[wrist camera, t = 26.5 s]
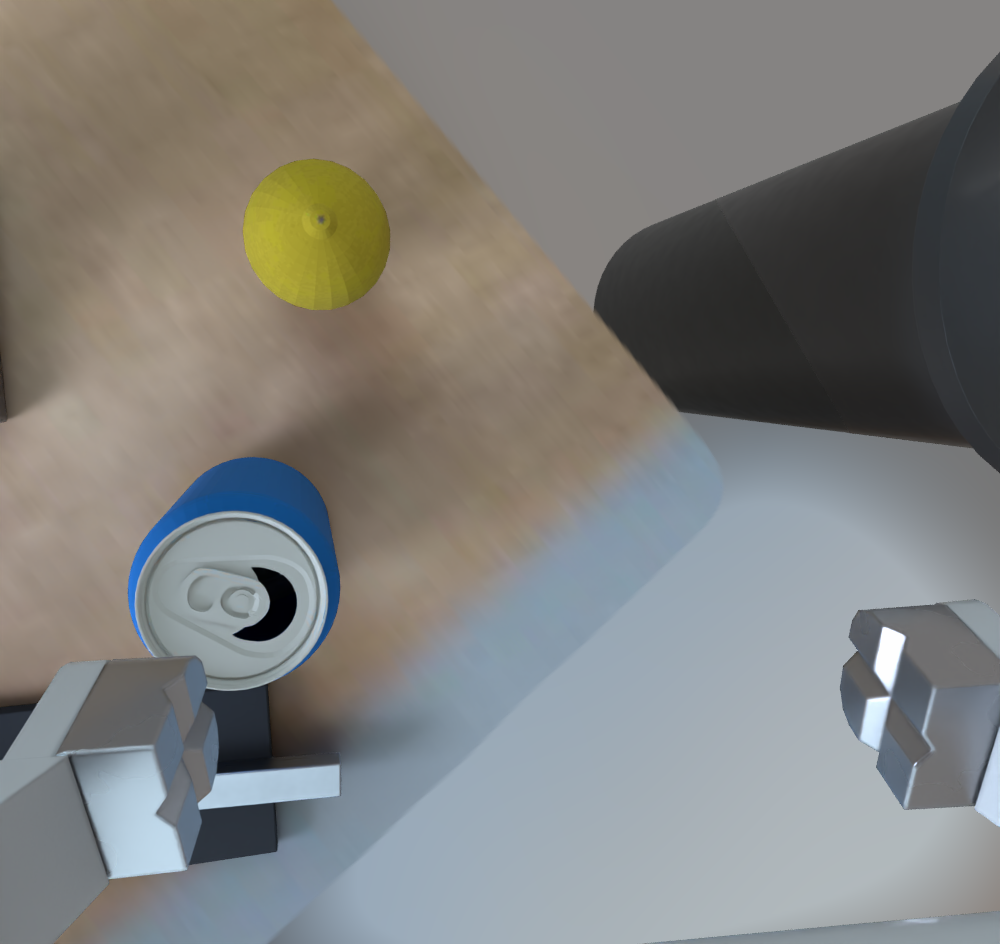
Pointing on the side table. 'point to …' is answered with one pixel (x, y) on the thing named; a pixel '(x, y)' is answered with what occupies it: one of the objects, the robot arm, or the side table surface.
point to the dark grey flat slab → (239, 739)
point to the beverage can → (238, 574)
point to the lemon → (316, 234)
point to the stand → (2, 398)
